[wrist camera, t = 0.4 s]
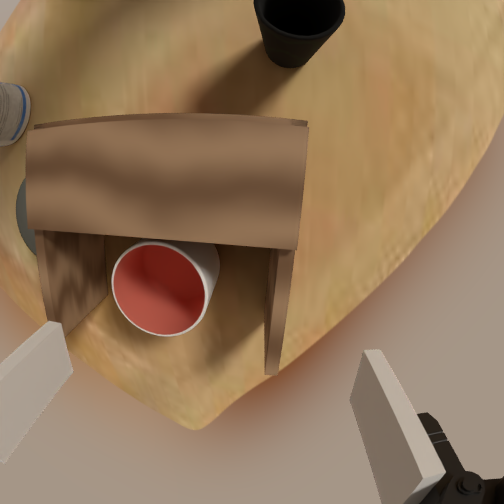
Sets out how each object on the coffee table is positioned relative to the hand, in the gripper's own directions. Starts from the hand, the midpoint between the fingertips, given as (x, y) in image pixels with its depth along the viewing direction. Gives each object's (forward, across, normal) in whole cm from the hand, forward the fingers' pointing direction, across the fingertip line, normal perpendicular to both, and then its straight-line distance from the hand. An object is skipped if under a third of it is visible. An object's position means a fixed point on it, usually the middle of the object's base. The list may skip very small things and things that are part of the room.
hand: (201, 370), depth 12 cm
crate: (+26, -7, +1) cm, 27 cm away
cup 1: (+27, -7, -4) cm, 28 cm away
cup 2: (+26, +4, +23) cm, 35 cm away
